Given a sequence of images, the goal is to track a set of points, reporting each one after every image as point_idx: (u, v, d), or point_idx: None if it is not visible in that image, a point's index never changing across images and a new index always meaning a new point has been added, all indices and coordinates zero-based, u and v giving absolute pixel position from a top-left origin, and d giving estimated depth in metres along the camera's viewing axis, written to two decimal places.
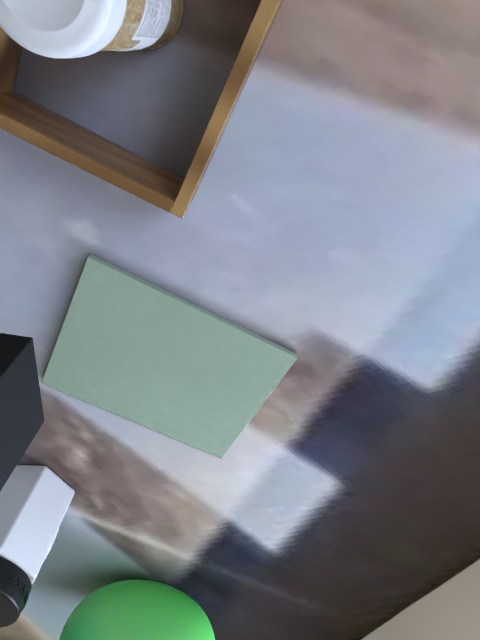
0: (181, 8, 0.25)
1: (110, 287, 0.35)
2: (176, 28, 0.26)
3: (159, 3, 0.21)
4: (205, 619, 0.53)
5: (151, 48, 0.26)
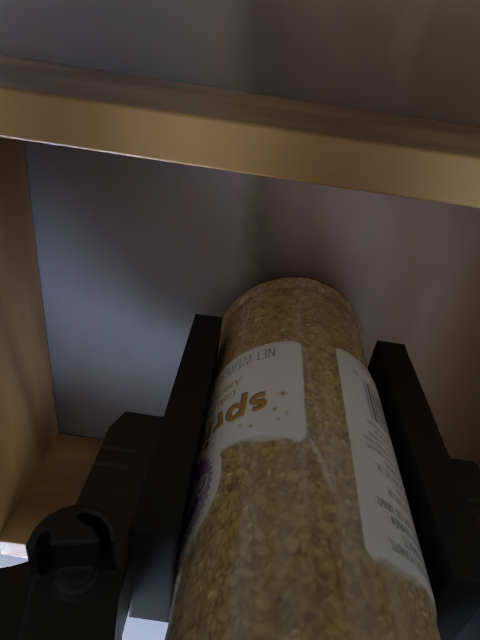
0: None
1: None
2: None
3: None
4: None
5: None
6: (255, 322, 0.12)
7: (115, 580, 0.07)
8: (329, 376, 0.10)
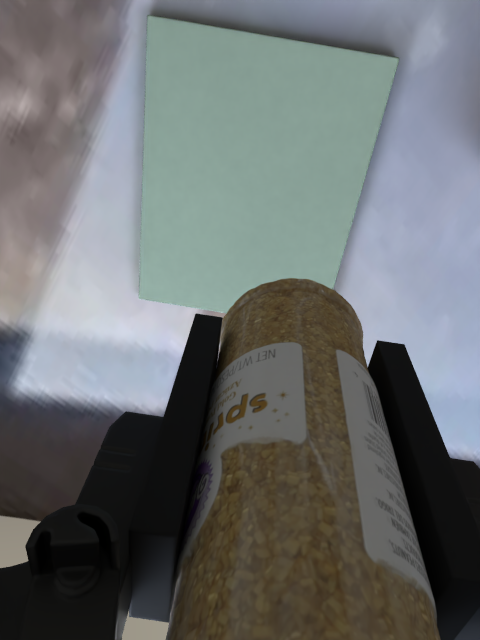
0: None
1: (359, 100, 0.26)
2: None
3: None
4: None
5: None
6: (255, 323, 0.12)
7: (115, 580, 0.07)
8: (330, 378, 0.10)
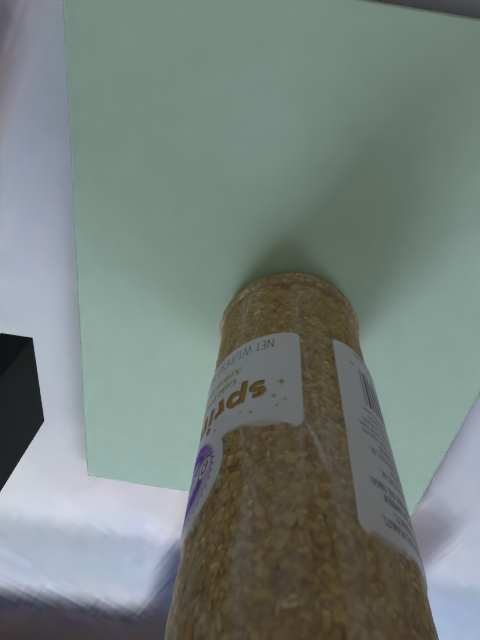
0: None
1: None
2: None
3: None
4: None
5: None
6: (254, 315, 0.12)
7: None
8: (326, 365, 0.10)
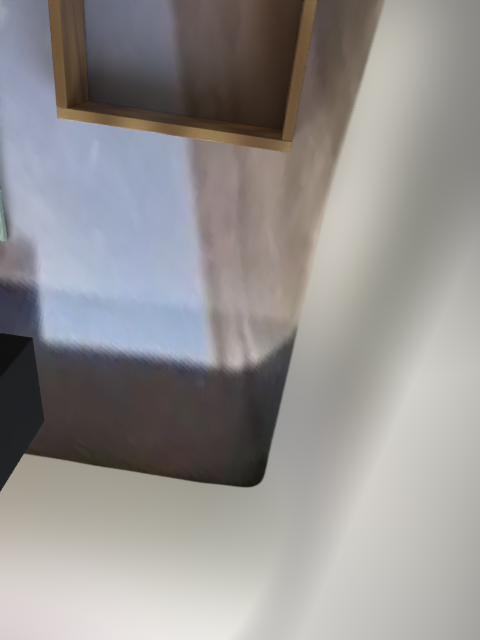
0: None
1: None
2: None
3: None
4: None
5: None
6: None
7: None
8: None
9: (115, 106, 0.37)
